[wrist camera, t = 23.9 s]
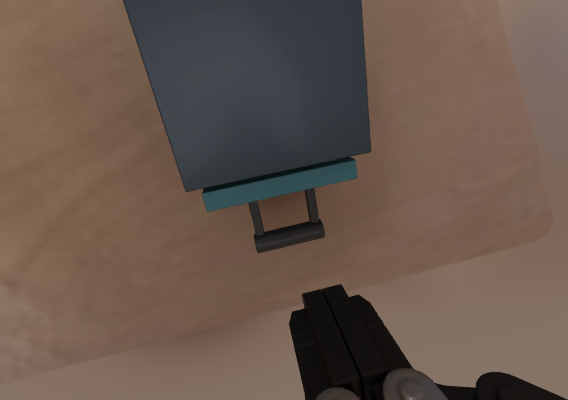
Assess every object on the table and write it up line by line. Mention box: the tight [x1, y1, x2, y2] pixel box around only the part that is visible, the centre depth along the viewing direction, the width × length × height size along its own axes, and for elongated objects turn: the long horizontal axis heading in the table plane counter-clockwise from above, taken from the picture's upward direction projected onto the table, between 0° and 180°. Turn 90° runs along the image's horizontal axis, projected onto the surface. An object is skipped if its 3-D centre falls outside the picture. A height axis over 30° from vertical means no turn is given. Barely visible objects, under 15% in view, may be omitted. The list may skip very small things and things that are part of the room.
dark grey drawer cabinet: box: [123, 0, 371, 192], centre depth 17 cm, size 13×11×9 cm
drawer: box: [202, 157, 357, 253], centre depth 19 cm, size 16×9×7 cm, turn 10°
